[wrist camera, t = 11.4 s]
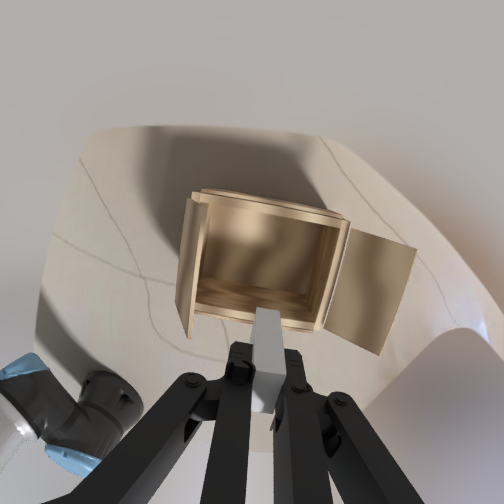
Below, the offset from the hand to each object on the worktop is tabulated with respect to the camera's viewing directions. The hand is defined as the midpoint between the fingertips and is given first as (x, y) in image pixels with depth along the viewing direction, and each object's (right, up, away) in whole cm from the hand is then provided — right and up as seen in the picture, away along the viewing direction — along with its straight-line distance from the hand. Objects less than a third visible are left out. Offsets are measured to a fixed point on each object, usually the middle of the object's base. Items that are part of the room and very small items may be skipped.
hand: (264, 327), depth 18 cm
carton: (+1, +6, +24) cm, 24 cm away
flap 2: (+12, 0, +11) cm, 16 cm away
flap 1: (-7, +4, +10) cm, 13 cm away
